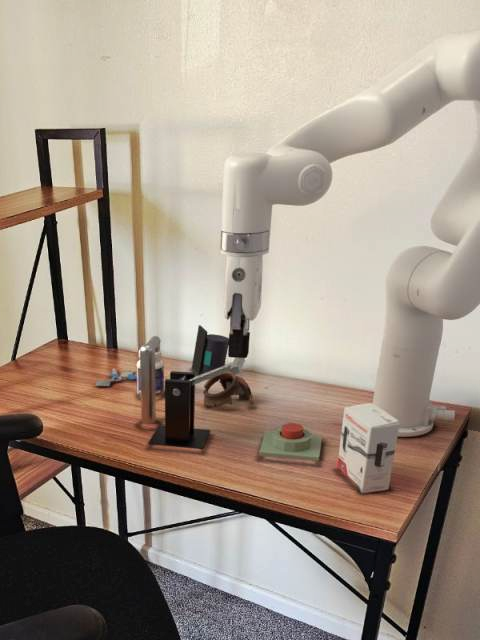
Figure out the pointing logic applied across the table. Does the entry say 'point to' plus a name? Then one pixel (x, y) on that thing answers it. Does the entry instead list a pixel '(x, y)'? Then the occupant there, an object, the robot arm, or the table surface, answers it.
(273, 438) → the button housing
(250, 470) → the table surface
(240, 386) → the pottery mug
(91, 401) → the table surface
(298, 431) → the button
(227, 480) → the table surface
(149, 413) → the spout
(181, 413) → the black lever stand
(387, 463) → the ink box
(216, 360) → the speaker
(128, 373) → the key chain
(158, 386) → the pill bottle
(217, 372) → the tap lever
